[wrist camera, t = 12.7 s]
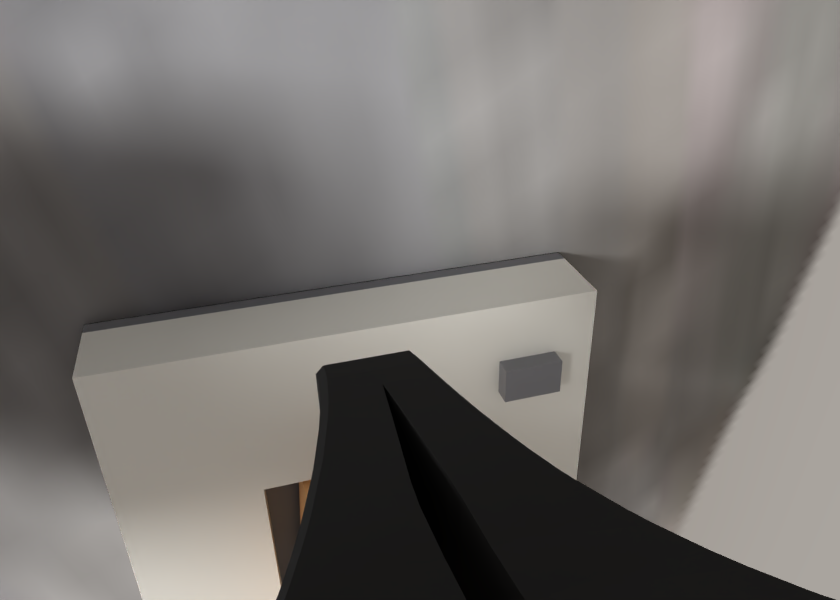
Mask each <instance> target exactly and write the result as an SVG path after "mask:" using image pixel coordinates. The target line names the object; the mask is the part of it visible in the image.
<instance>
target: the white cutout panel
mask: <svg viewBox="0 0 840 600" xmlns="http://www.w3.org/2000/svg"><path fill="white" fill-rule="evenodd" d="M596 298H597V290H596V289H595V288H594V287H593V286H592V285H591V284H590V283H589V282H588V281H587V280H586V279H585V278H584V277H583V276H582V275H581V274H580V273H579V272H578V271H577V270H576V269H575V268H574V267H573V266H572V265H571V264H570V263H569V262H568V261H567V260H566V259H565V258H564V257H563V256H561V255H560V254H559V253H552V254H545V255H539V256H532V257H525V258H519V259H512V260H506V261H499V262H493V263H486V264H480V265H473V266H467V267H460V268H453V269H447V270H440V271H434V272H427V273H421V274H414V275H408V276H401V277H394V278H388V279H381V280H375V281H368V282H362V283H355V284H349V285H342V286H336V287H329V288H322V289H316V290H309V291H303V292H296V293H290V294H283V295H277V296H270V297H263V298H257V299H250V300H244V301H237V302H231V303H224V304H218V305H211V306H205V307H198V308H191V309H185V310H178V311H172V312H165V313H159V314H152V315H146V316H139V317H132V318H126V319H119V320H113V321H106V322H100V323H93V324H87V325H84V327H83V331H82V336H81V341H80V345H79V350H78V354H77V359H76V363H75V368H74V372H73V377H72V380H73V383H74V386H75V389H76V392H77V395H78V399H79V402H80V405H81V408H82V411H83V414H84V417H85V421H86V424H87V427H88V430H89V433H90V436H91V439H92V443H93V446H94V449H95V452H96V455H97V458H98V461H99V465H100V468H101V471H102V474H103V477H104V480H105V483H106V487H107V490H108V493H109V496H110V499H111V502H112V505H113V509H114V512H115V515H116V518H117V521H118V524H119V527H120V531H121V534H122V537H123V540H124V543H125V546H126V549H127V553H128V556H129V559H130V562H131V565H132V568H133V571H134V575H135V578H136V581H137V584H138V587H139V590H140V594H141V597H142V600H276V599H277V596H278V593H279V591H280V588H281V585H282V582H283V579H284V576H285V573H286V570H287V567H288V564H289V561H290V558H291V555H292V552H293V548H294V545H295V542H296V538H297V535H298V531H299V528H300V503H299V482H303V481H308V480H311V477H312V472H313V467H314V460H315V453H316V446H317V438H318V431H319V418H320V407H319V399H318V390H317V381H316V373H317V372H318V371H319V370H320V368H321V367H322V366H323V365H328V364H334V363H340V362H345V361H351V360H357V359H362V358H368V357H374V356H380V355H385V354H391V353H397V352H402V351H408V350H409V351H411V352H412V353H413V354H414V355H416V356H417V357H418V358H419V359H420V360H422V361H423V362H424V363H425V364H426V365H427V366H428V367H429V368H430V369H432V370H433V371H434V372H435V373H436V374H437V375H438V376H439V377H441V378H442V379H443V380H444V381H445V382H446V383H447V384H449V385H450V386H451V387H452V388H453V389H454V390H456V391H457V392H458V393H459V394H460V395H461V396H463V397H464V398H465V399H466V400H467V401H468V402H470V403H471V404H472V405H473V406H475V407H476V408H477V409H478V410H479V411H481V412H482V413H483V414H484V415H486V416H487V417H488V418H490V419H491V420H492V421H493V422H495V423H496V424H497V425H498V426H500V427H501V428H502V429H504V430H505V431H506V432H507V433H509V434H510V435H511V436H513V437H514V438H515V439H517V440H518V441H519V442H521V443H522V444H523V445H525V446H526V447H528V448H529V449H530V450H532V451H533V452H535V453H536V454H537V455H539V456H540V457H542V458H543V459H545V460H546V461H548V462H549V463H551V464H552V465H553V466H555V467H556V468H558V469H559V470H561V471H562V472H564V473H566V474H567V475H569V476H570V477H572V478H574V479H575V480H576V479H577V470H578V461H579V452H580V443H581V434H582V425H583V416H584V407H585V398H586V389H587V379H588V370H589V361H590V352H591V343H592V334H593V325H594V316H595V307H596Z"/></svg>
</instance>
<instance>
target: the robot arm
mask: <svg viewBox="0 0 840 600" xmlns="http://www.w3.org/2000/svg"><path fill="white" fill-rule="evenodd" d="M316 381H317V390H318V399H319V407H320V418H319V431H318V438H317V446H316V453H315V460H314V467H313V472H312V477H311V481H310V486H309V490H308V494H307V499H306V503H305V507H304V512H303V516H302V520H301V524H300V528H299V531H298V535H297V538H296V542H295V545H294V548H293V552H292V555H291V558H290V561H289V564H288V567H287V570H286V573H285V576H284V579H283V582H282V585H281V588H280V591H279V593H278V596H277V599H276V600H835V599H832V598H829V597H826V596H823V595H820V594H817V593H815V592H812V591H809V590H806V589H804V588H801V587H799V586H796V585H794V584H791V583H788V582H786V581H783V580H781V579H778V578H776V577H773V576H771V575H768V574H766V573H763V572H760V571H758V570H755V569H753V568H750V567H747V566H745V565H743V564H741V563H738V562H736V561H733V560H731V559H729V558H727V557H724V556H722V555H720V554H717V553H715V552H713V551H710V550H708V549H706V548H704V547H702V546H700V545H698V544H696V543H693V542H691V541H689V540H687V539H685V538H683V537H681V536H679V535H677V534H675V533H673V532H670V531H668V530H666V529H664V528H662V527H660V526H658V525H656V524H654V523H652V522H650V521H648V520H646V519H644V518H642V517H640V516H638V515H636V514H635V513H633V512H631V511H629V510H627V509H625V508H623V507H622V506H620V505H618V504H616V503H615V502H613V501H611V500H609V499H608V498H606V497H604V496H603V495H601V494H599V493H597V492H596V491H594V490H592V489H590V488H589V487H587V486H585V485H583V484H582V483H580V482H578V481H577V480H575V479H574V478H572V477H570V476H569V475H567V474H566V473H564V472H562V471H561V470H559V469H558V468H556V467H555V466H553V465H552V464H551V463H549V462H548V461H546V460H545V459H543V458H542V457H540V456H539V455H537V454H536V453H535V452H533V451H532V450H530V449H529V448H528V447H526V446H525V445H523V444H522V443H521V442H519V441H518V440H517V439H515V438H514V437H513V436H511V435H510V434H509V433H507V432H506V431H505V430H504V429H502V428H501V427H500V426H498V425H497V424H496V423H495V422H493V421H492V420H491V419H490V418H488V417H487V416H486V415H484V414H483V413H482V412H481V411H479V410H478V409H477V408H476V407H475V406H473V405H472V404H471V403H470V402H468V401H467V400H466V399H465V398H464V397H463V396H461V395H460V394H459V393H458V392H457V391H456V390H454V389H453V388H452V387H451V386H450V385H449V384H447V383H446V382H445V381H444V380H443V379H442V378H441V377H439V376H438V375H437V374H436V373H435V372H434V371H433V370H432V369H430V368H429V367H428V366H427V365H426V364H425V363H424V362H423V361H422V360H420V359H419V358H418V357H417V356H416V355H414V354H413V353H412V352H411V351H409V350H408V351H402V352H397V353H391V354H385V355H380V356H374V357H368V358H362V359H357V360H351V361H345V362H340V363H334V364H328V365H323V366H322V367H321V368H320V370H319V371H318V372H317V373H316Z"/></svg>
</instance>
